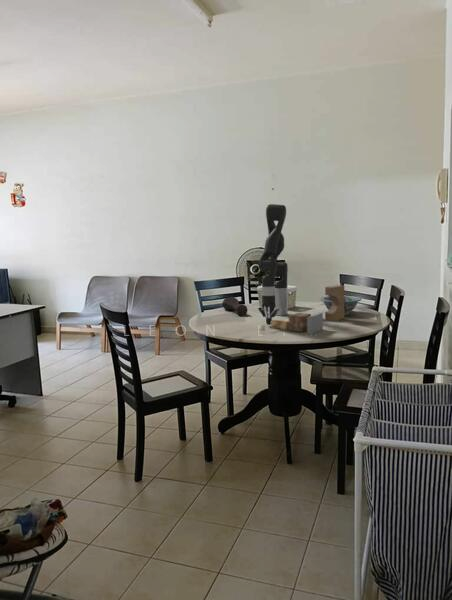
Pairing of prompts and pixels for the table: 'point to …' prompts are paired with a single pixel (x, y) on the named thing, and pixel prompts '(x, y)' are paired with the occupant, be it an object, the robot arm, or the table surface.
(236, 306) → the dark brown bone
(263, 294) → the robot arm
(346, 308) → the bowl
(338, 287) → the decorative block
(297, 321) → the socket block
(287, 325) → the tan wooden block
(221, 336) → the table surface
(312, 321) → the wall
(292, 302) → the storage basket
